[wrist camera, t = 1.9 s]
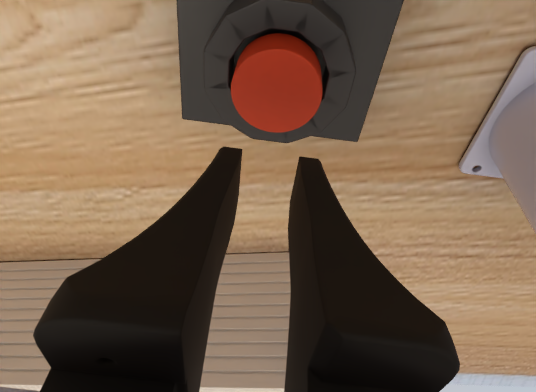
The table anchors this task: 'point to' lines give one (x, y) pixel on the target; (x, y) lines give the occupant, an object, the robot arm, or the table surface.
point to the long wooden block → (220, 333)
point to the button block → (296, 24)
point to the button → (277, 83)
